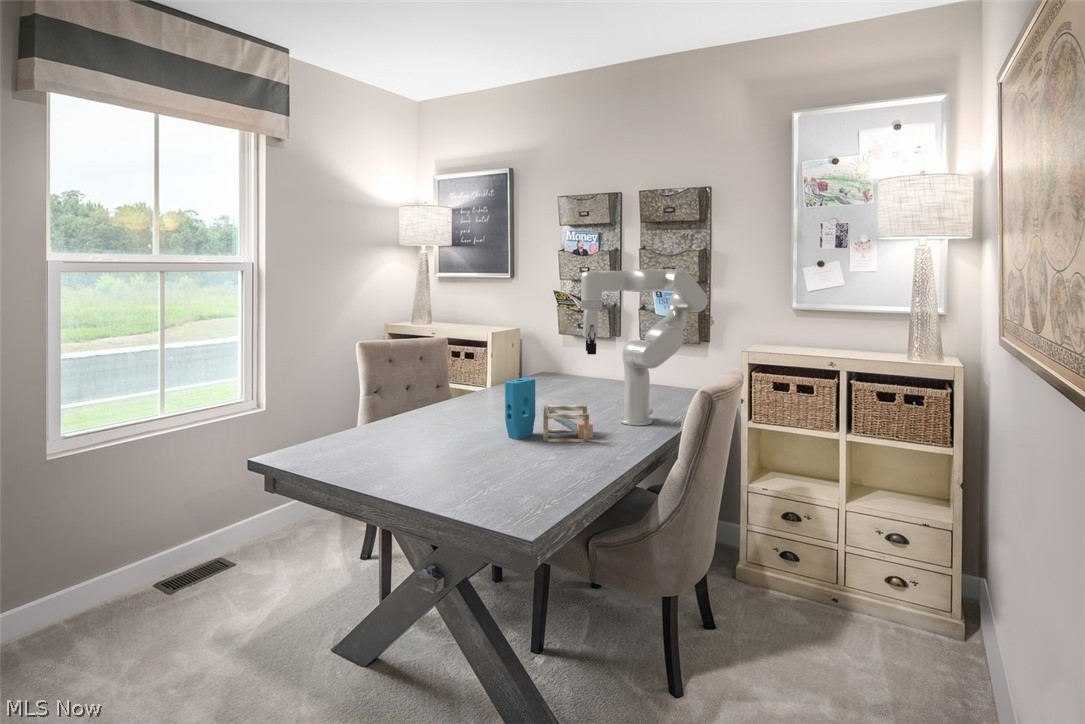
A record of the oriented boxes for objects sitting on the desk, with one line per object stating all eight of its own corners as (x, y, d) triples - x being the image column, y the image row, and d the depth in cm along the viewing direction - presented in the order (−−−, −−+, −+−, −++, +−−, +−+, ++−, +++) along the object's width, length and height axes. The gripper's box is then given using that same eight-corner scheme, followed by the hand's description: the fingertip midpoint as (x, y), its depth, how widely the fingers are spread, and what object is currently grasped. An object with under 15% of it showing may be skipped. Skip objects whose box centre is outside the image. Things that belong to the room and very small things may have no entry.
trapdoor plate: (575, 426, 230) (577, 423, 230) (576, 433, 220) (579, 430, 220) (548, 409, 230) (551, 406, 229) (548, 416, 219) (550, 412, 219)
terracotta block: (577, 434, 228) (591, 434, 228) (578, 438, 223) (592, 438, 223) (578, 421, 227) (592, 421, 227) (578, 424, 222) (592, 424, 222)
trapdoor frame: (586, 431, 233) (586, 405, 231) (588, 441, 218) (589, 414, 217) (544, 430, 233) (544, 405, 231) (543, 441, 218) (543, 414, 217)
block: (515, 440, 220) (514, 383, 217) (504, 438, 223) (503, 381, 220) (536, 433, 229) (536, 378, 226) (525, 431, 232) (525, 377, 229)
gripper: (580, 304, 239) (579, 349, 242) (582, 307, 222) (581, 355, 225) (600, 304, 239) (599, 349, 242) (603, 307, 222) (602, 355, 225)
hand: (590, 352), depth 233 cm, fingers open, 9 cm apart
